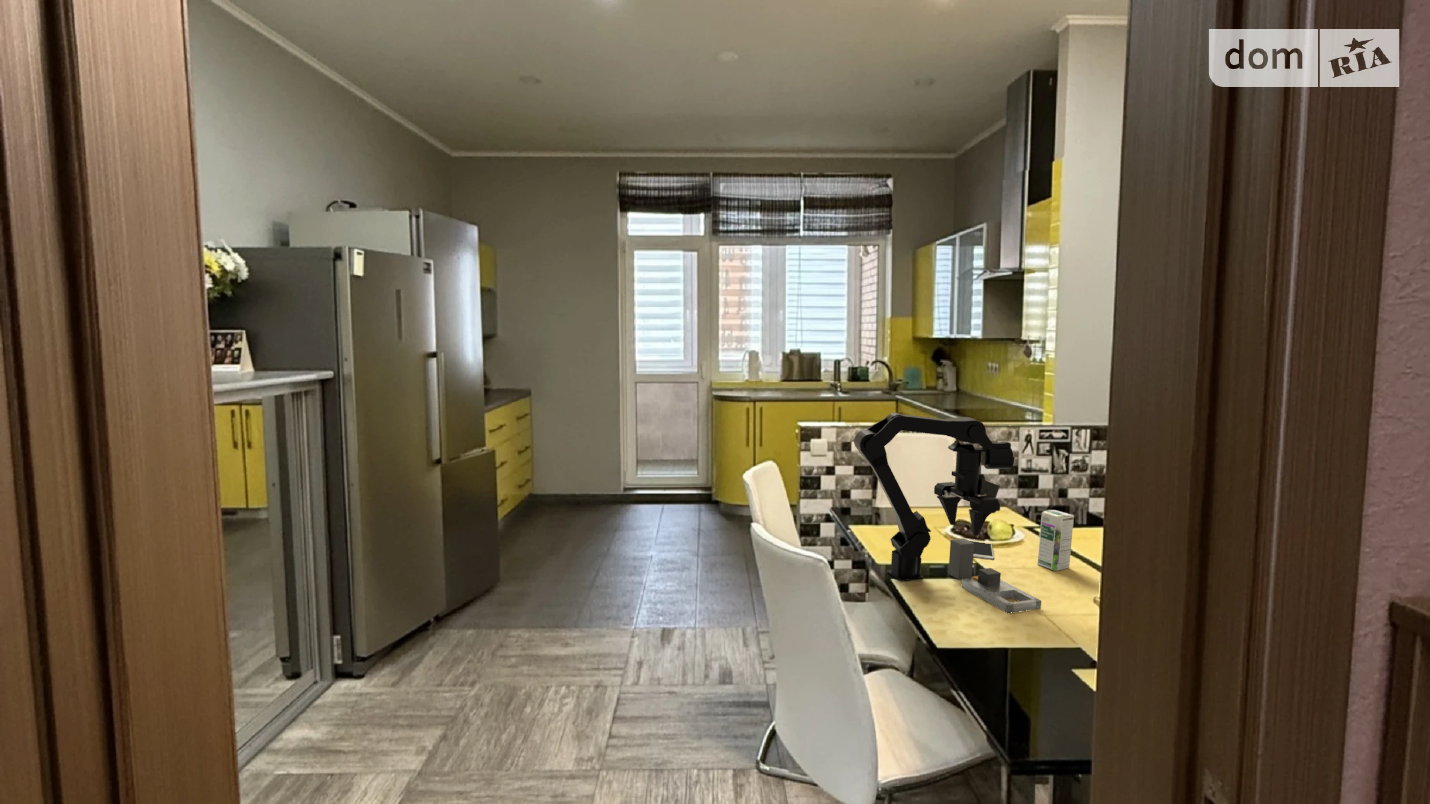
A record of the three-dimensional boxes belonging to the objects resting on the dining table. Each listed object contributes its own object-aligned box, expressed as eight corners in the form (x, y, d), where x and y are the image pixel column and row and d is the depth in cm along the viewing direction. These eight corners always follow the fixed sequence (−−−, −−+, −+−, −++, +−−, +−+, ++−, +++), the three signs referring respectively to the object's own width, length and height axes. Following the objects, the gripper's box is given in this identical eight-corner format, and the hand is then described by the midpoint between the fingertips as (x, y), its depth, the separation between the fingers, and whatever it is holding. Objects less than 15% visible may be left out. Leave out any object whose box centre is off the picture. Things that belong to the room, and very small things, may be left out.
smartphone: (991, 544, 211) (991, 541, 211) (993, 561, 197) (993, 557, 197) (965, 541, 214) (965, 538, 214) (965, 557, 199) (965, 554, 199)
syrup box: (1036, 564, 194) (1040, 511, 192) (1051, 561, 196) (1055, 508, 195) (1055, 571, 189) (1059, 517, 187) (1070, 568, 191) (1075, 514, 190)
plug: (958, 579, 182) (960, 544, 181) (948, 574, 185) (950, 539, 184) (971, 578, 183) (974, 543, 182) (961, 572, 187) (963, 538, 186)
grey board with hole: (1008, 613, 162) (1009, 592, 161) (961, 587, 177) (962, 567, 176) (1040, 609, 165) (1042, 587, 164) (992, 583, 180) (993, 563, 179)
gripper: (1021, 475, 174) (1016, 538, 176) (970, 459, 192) (967, 517, 194) (982, 478, 171) (978, 542, 173) (934, 461, 188) (931, 520, 190)
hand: (963, 530), depth 183 cm, fingers open, 9 cm apart
